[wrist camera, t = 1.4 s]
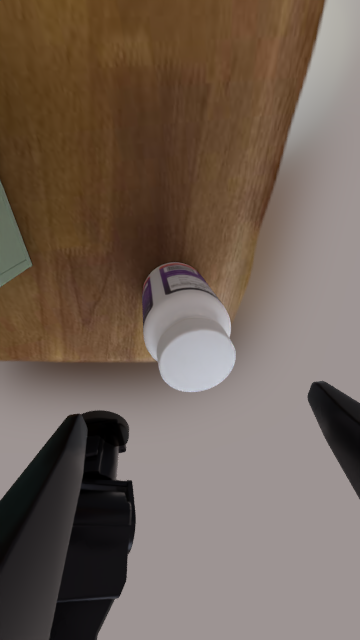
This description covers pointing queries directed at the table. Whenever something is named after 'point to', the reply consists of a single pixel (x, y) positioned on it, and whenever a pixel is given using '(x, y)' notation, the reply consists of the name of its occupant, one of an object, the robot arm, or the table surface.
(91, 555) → the robot arm
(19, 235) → the bin
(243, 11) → the table surface
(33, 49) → the table surface
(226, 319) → the pill bottle
